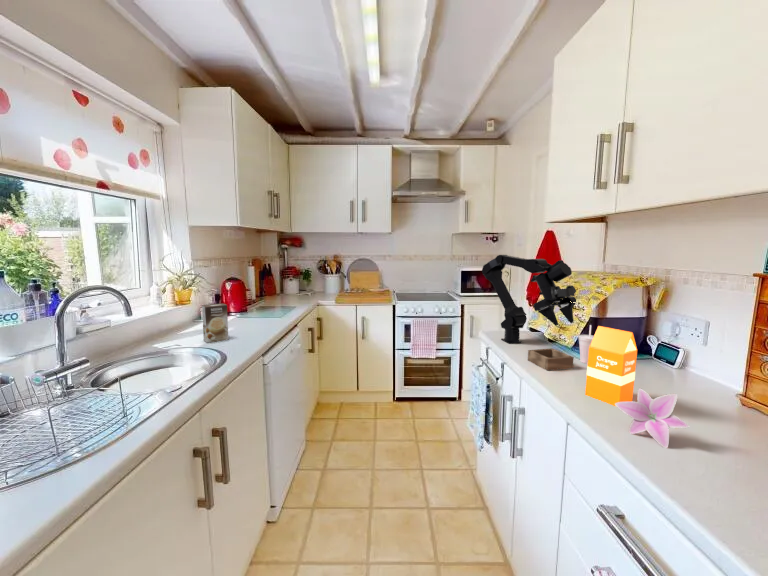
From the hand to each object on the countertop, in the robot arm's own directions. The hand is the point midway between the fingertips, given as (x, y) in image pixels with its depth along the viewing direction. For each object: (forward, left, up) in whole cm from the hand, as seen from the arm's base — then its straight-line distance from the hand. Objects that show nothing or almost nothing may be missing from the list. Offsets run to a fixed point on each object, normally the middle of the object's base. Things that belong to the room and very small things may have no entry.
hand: (564, 324), depth 126 cm
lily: (+49, -20, -14) cm, 55 cm away
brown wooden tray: (+5, -10, -13) cm, 18 cm away
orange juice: (+32, -13, -13) cm, 37 cm away
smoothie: (+6, +5, -13) cm, 16 cm away
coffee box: (-55, -136, -13) cm, 147 cm away
